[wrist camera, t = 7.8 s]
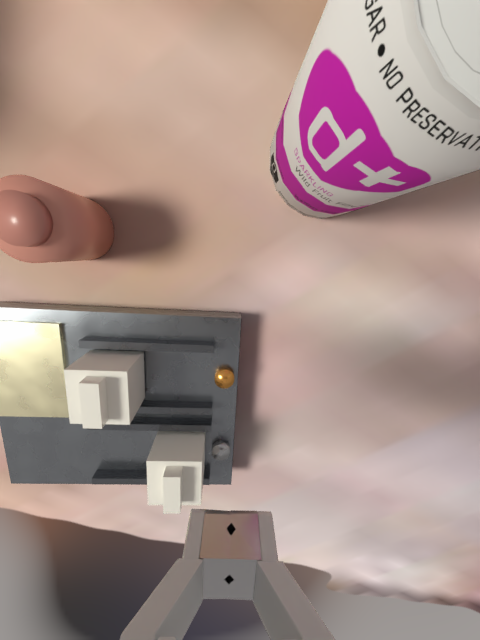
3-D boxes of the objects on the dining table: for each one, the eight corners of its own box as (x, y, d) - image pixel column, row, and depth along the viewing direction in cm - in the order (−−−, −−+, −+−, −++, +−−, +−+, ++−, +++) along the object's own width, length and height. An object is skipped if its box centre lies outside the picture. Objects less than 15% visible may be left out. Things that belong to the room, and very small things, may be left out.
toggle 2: (205, 429, 23) (200, 472, 18) (204, 468, 24) (199, 517, 19) (158, 428, 23) (142, 472, 18) (159, 467, 24) (143, 517, 19)
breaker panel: (240, 312, 23) (242, 321, 20) (230, 467, 27) (231, 493, 24) (0, 301, 21) (-36, 309, 19) (27, 465, 25) (1, 493, 22)
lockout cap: (112, 199, 20) (56, 173, 13) (115, 261, 21) (65, 265, 15) (48, 195, 20) (-40, 166, 13) (55, 258, 21) (-23, 260, 14)
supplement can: (311, 241, 22) (488, 219, 7) (245, 154, 20) (300, -120, 5) (394, 169, 20) (802, -30, 6) (332, 70, 19) (704, -562, 4)
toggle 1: (143, 351, 21) (121, 378, 16) (145, 397, 22) (124, 434, 17) (91, 349, 21) (53, 376, 16) (95, 395, 22) (61, 433, 17)
